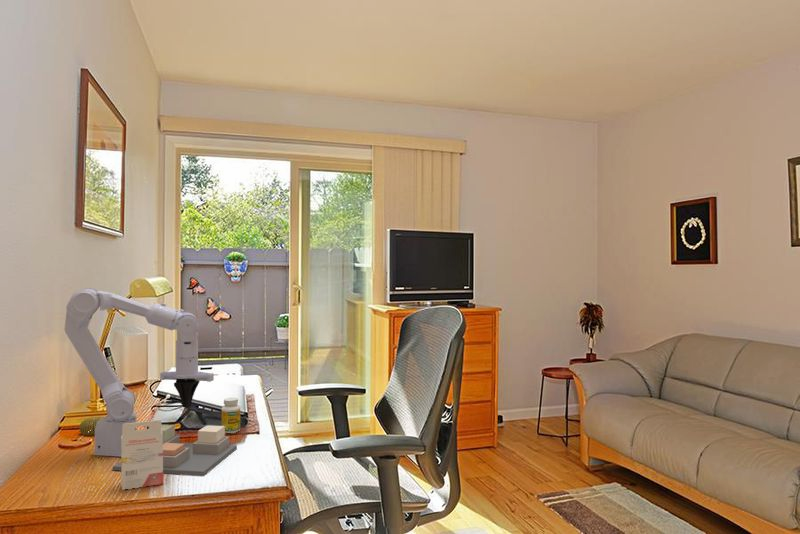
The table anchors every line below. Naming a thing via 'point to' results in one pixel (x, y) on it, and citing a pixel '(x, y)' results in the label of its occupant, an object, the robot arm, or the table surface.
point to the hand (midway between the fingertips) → (186, 406)
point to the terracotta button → (172, 449)
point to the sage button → (168, 432)
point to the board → (194, 457)
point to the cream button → (211, 434)
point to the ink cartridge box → (142, 455)
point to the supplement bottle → (231, 415)
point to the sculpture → (88, 427)
